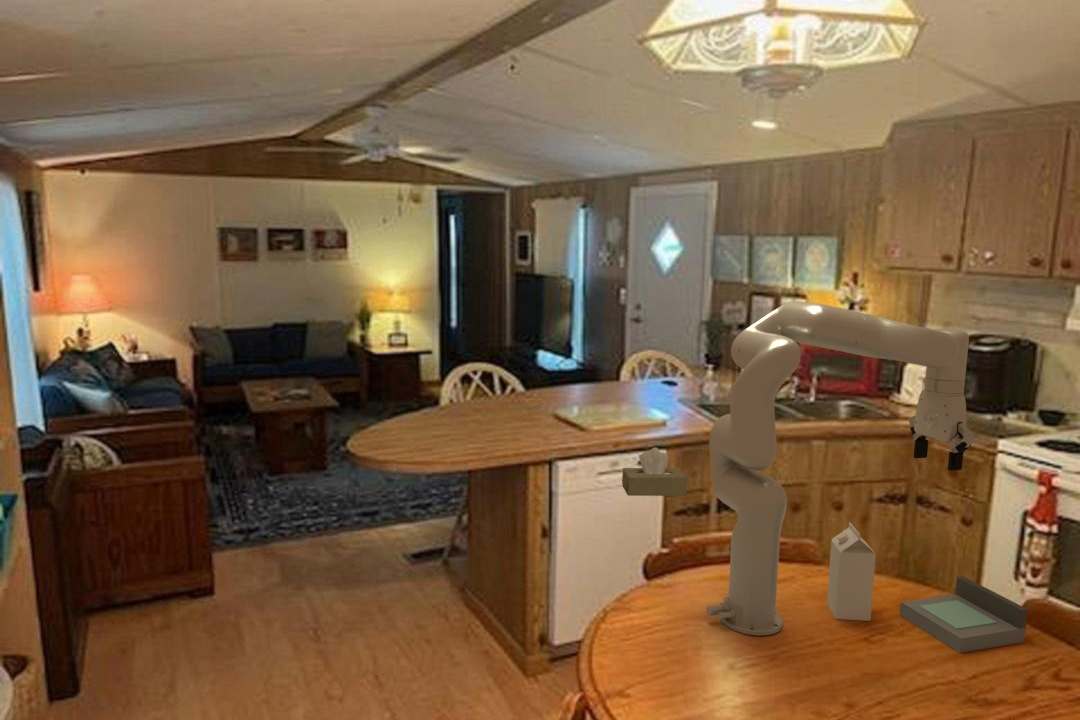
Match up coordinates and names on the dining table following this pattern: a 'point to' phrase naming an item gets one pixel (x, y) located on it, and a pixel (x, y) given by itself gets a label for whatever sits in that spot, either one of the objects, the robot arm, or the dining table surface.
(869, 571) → the milk carton
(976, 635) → the plate
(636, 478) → the tissue box
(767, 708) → the dining table surface
